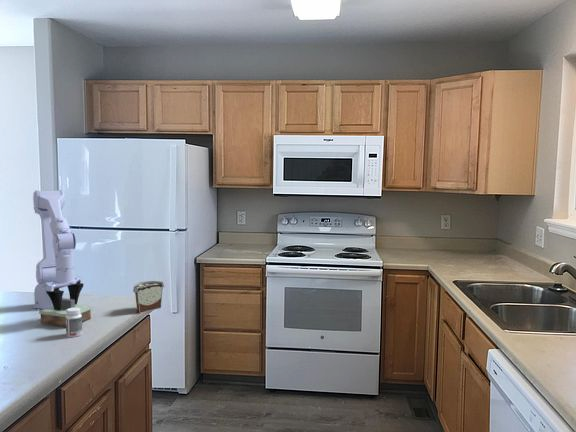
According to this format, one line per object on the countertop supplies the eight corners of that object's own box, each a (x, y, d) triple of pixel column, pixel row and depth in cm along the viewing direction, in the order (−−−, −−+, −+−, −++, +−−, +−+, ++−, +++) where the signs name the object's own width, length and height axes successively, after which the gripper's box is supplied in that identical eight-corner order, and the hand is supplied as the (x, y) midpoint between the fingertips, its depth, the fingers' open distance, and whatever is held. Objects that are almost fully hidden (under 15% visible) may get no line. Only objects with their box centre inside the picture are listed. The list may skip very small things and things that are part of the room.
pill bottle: (85, 333, 154) (85, 307, 153) (75, 338, 150) (74, 311, 149) (73, 331, 155) (72, 306, 155) (62, 336, 151) (62, 310, 150)
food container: (154, 304, 188) (154, 279, 187) (164, 307, 184) (164, 281, 183) (126, 311, 179) (126, 284, 178) (136, 314, 175) (135, 287, 174)
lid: (39, 313, 162) (38, 301, 162) (62, 305, 172) (62, 293, 172) (69, 317, 158) (69, 305, 158) (91, 309, 168) (91, 297, 168)
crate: (40, 323, 163) (40, 313, 162) (62, 315, 172) (62, 305, 172) (70, 327, 159) (69, 317, 159) (90, 318, 169) (90, 309, 168)
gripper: (58, 273, 156) (59, 314, 157) (89, 265, 170) (90, 302, 171) (41, 271, 158) (42, 312, 159) (72, 263, 172) (73, 300, 173)
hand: (65, 307), depth 165 cm, fingers open, 7 cm apart
